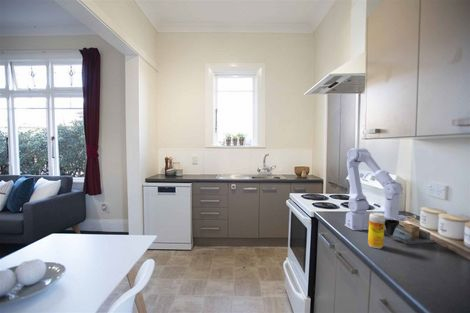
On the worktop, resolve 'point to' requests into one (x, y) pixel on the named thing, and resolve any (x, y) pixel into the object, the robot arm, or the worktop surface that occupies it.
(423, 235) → the vise
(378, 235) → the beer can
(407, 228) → the block
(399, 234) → the sliding jaw
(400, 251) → the worktop surface
